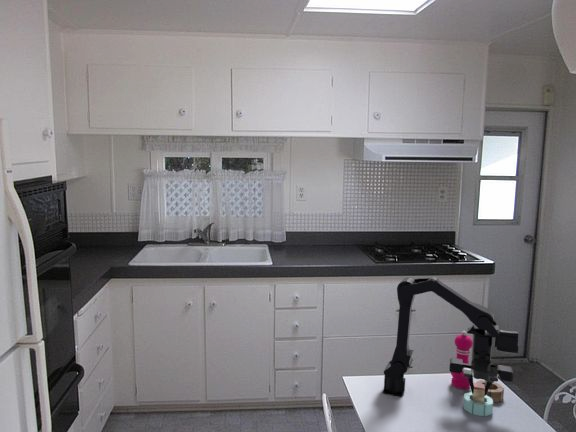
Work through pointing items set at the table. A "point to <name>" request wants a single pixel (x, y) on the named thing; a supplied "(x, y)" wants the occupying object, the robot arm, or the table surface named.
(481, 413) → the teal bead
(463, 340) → the pepper mill
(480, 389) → the pink two-tone square block
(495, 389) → the brown segmented ring
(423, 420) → the table surface
